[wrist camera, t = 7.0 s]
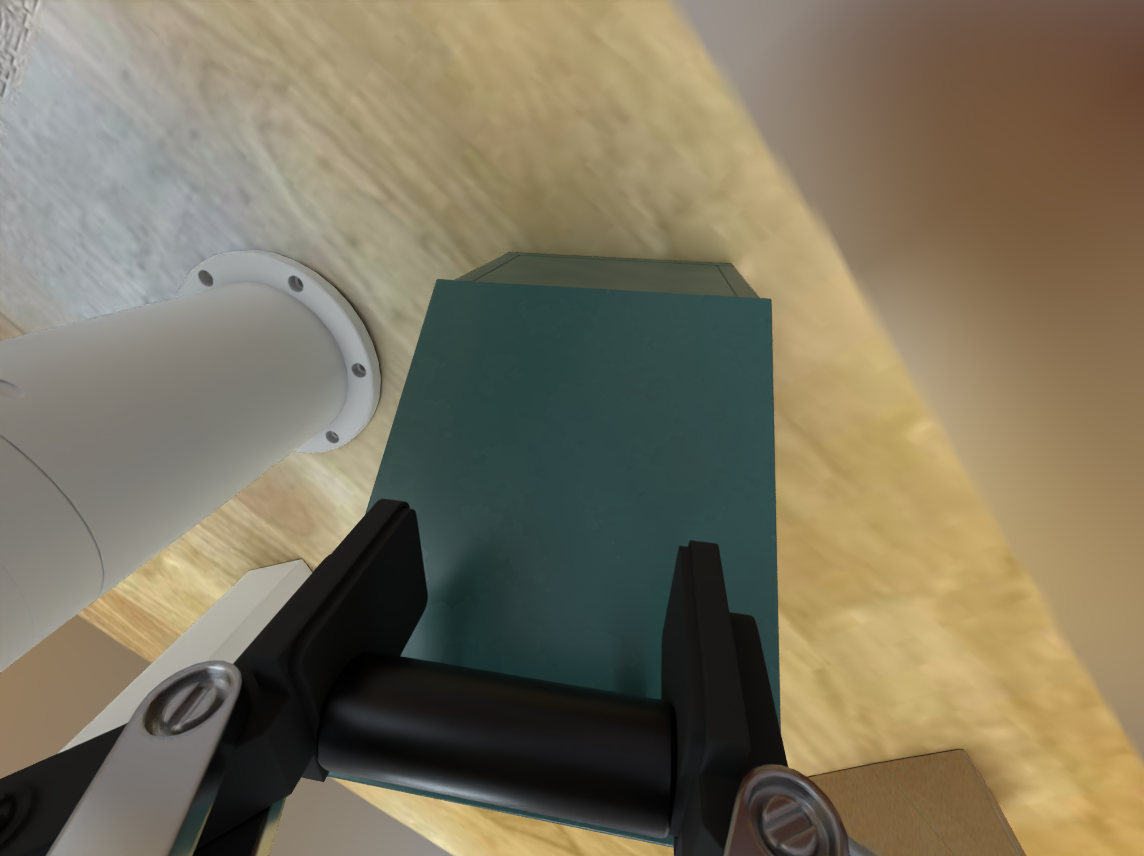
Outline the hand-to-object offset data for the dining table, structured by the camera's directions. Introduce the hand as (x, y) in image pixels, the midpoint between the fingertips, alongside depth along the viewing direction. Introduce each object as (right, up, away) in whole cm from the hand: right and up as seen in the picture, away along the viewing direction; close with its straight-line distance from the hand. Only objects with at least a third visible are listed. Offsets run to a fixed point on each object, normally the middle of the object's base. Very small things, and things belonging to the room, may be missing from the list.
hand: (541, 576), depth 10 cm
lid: (+1, +1, +3) cm, 4 cm away
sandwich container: (+27, -28, +30) cm, 49 cm away
